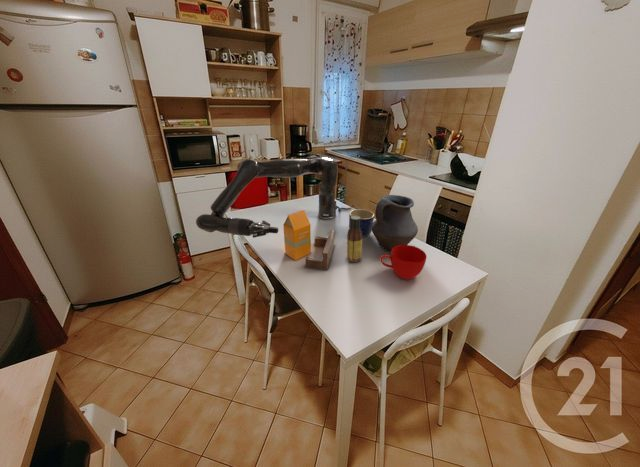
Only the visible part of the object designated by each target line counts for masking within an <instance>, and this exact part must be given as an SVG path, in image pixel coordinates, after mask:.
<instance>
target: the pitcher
mask: <svg viewBox="0 0 640 467" xmlns="http://www.w3.org/2000/svg"><path fill="white" fill-rule="evenodd" d="M414 205H415V202H414V199H412V198H410V197H409V196H405V195H398V194H386V195H384V196H382V197H381V198H380V200H378V202H377V204H376V206H375V212H374V217H375V219H374V221H373V224H372V227H371V229H372V231H371V233H372V234H373V236H374V238H375V239H376V242H377V244H378V245H379V247H380V248H382V249H383V250H385V251H387V252H391V251H392V249H393V248H394V247H395V246H398V245H409V244H410V243H411V242H412V241H413V240H414V239H415V238H416V237H417V234H418V232H419V226H418V225H417V223H416V221H415V220H414V218H413V215H412V211H411V208H413V207H414Z"/></svg>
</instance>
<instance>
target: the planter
mask: <svg viewBox="0 0 640 467" xmlns="http://www.w3.org/2000/svg"><path fill="white" fill-rule="evenodd" d="M348 213H349V214H348V217H349V218H348V229H349V228H350V226H351V220H350V218H351V216H359V217H360V218H361V220H360V229H361V232H362V238H363V237H368V236H369V235H370V234H372V229H371V227H372V224H373V222H374V221H375V212H373V211H371V210H369V209H364V208H358V209H352V210H351V211H350V212H348Z"/></svg>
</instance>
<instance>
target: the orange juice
mask: <svg viewBox="0 0 640 467" xmlns="http://www.w3.org/2000/svg"><path fill="white" fill-rule="evenodd" d="M311 236H312V235H311V222H310V220H309V218H308V215H307V213H306V210H305V209H303V210H300V211H297V212H294V213H290V214H288V215H287V217H286V219H285V221H284V223H283V240H284V253H285V255H287V256H288V257H290V258H291V259H293V260H294V261H298V260H299V259H302V258H304V257H307V256H308V255H311V253H312V249H311V247H312V244H311V243H312V241H311V240H312V238H311Z"/></svg>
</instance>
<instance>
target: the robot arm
mask: <svg viewBox="0 0 640 467" xmlns="http://www.w3.org/2000/svg"><path fill="white" fill-rule="evenodd" d="M308 174H319V175H321V181H320V182H318V217H319V218H320V219H323V220H332V219H334V218H335V217H337V210H338V212H341V210H351V209H352V208H354V207H355V205H354V204H351V205H350V207H351V208H350V207H339V206H338V205H337V201H336V185H337V183H338V175H339V167H338V163H337V162H336V161H335V160H333V159H331V158H328V157H319V158H311V159H307V158H282V159H281V158H279V159H274V160H268V161H258V160H254V159H252V158H246V159H243V160H241V161H240V162H239V163H238V164H237V167H236V174H235V176H234V177H233V179H232V180H230V181H231V182H230V183H229V184H227V186H226V187H225V188H223V190H222V191H221V192H220V193H219V195H218V196H217V197H216V199H214V201H213V202H212V203H211V205H210V210H211V213H210V214H208V213H204V214H200V215H199V216H197V217H196V219H195V224H196V226H197V228H198V229H200V230H202V231H205V232H207V233H214V232H219V233H223V234H231V235H235V236H245V237H250V236H252V238H253V239H254V238H258V237H263V236H267V235H268V234H278V233H279V227H275V226H274V227H273V226H271V223H269V222H268V221H266V220H261V222H259V221H258V222H257V221H256V222H255V221H254V220H253V219H251V218H242V217H241V218H240V217H225V214H226V213H227V212H228V211H229V209H230V208H231V206H232V205H233V204H234V203H235V201H236V200H237V198H238V197H239V196H240V194H241V193H242V191H244V190H245V188H246V187H247V186H248V185H249V184H250V183H251V182H252V181H253V180H254V179H256V178H265V177H268V178H269V177H270V178H280V179H281V178H282V179H283V178H284V179H286V178H287V179H289V178H298V177H299V178H300V177H302V176H304V175H308Z"/></svg>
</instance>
